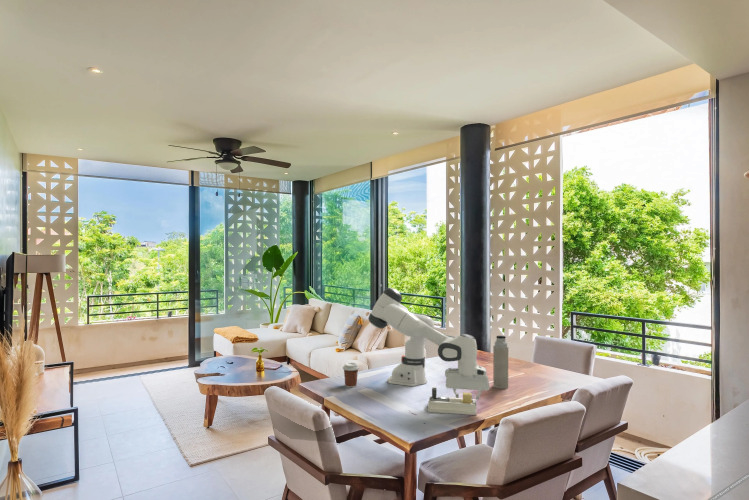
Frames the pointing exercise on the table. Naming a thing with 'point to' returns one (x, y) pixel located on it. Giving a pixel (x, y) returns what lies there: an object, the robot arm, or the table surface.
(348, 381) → the coffee cup
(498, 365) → the thermos bottle
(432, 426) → the table surface
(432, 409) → the cradle
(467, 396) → the block
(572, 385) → the table surface
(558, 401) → the table surface
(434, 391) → the shaft
